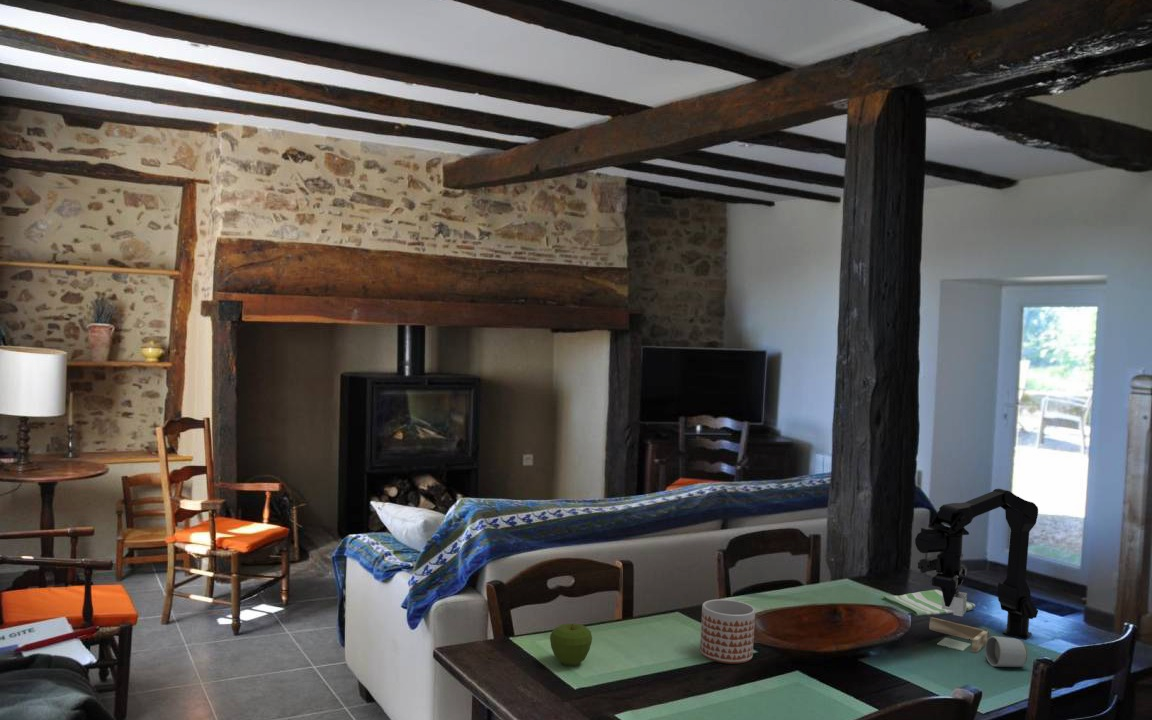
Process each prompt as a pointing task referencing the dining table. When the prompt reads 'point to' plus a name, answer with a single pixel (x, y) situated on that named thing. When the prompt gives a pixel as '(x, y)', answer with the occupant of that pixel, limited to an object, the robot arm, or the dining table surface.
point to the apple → (571, 643)
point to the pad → (954, 644)
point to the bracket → (957, 604)
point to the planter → (727, 631)
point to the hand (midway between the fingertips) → (948, 605)
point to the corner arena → (961, 632)
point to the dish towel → (922, 602)
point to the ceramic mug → (1005, 652)
